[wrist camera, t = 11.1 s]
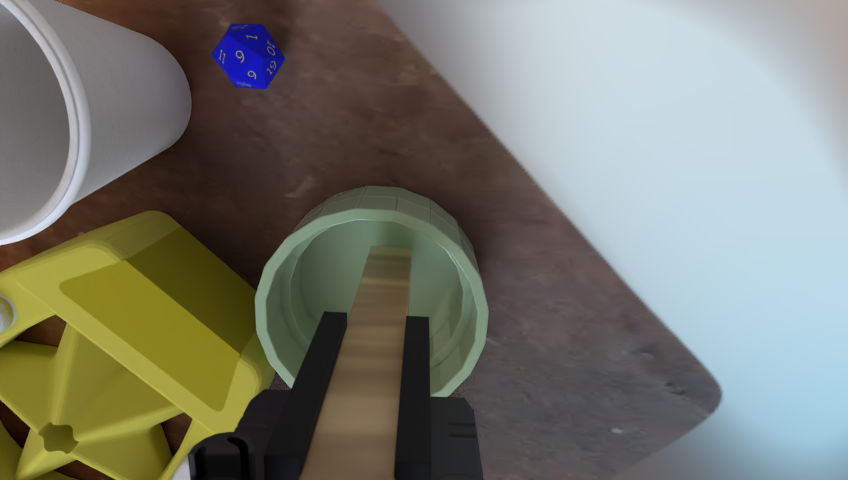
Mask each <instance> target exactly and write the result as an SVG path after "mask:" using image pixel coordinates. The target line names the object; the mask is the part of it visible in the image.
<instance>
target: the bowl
mask: <svg viewBox="0 0 848 480" xmlns="http://www.w3.org/2000/svg"><path fill="white" fill-rule="evenodd" d="M371 246H382V247H400V248H412V267H411V286H410V300H409V315H408V316H421V317H429V339H430V396H435V397H448V396H449V395H450V394H451V393H452V392H453V391H454V390H455V389H456V388H457V387H458V386H459V385H460V384H461V383H462V382H463V381H464V380H465V379H466V378H467V377H468V376H469V375H470V374H471V372H472V371H473V368H474V366H475V364H476V362H477V360H478V358H479V356H480V354H481V352H482V350H483V348H484V346H485V343H486V335H487V326H488V317H489V308H488V304H487V300H486V296H485V292H484V288H483V284H482V280H481V276H480V272H479V268H478V265H477V261H476V257H475V254H474V250H473V246H472V244H471V242H470V241H469V239H468V238H467V236H466V235H465V233H464V231H463V230H462V228H461V227H460V225H459V224H458V222H457V221H456V220H455V219H454V218H453V217H452V216H451V215H450V214H448V213H447V212H446V211H445V210H443V209H442V208H441V207H440V206H438V205H437V204H436V203H435V202H433V201H432V200H430V199H429V198H426V197H424V196H421V195H419V194H416V193H413V192H411V191H408V190H406V189H403V188H399V187H386V186H369V185H368V186H363V187H359V188H355V189H351V190H348V191H344V192H340V193H337V194H335V195H333V196H331V197H330V198H328V199H327V200H325V201H324V202H322V203H321V204H319V205H317V206H316V207H314V208H313V209H311V210H310V211H309V212H308V213H307V214H306V215H305V216H304V218H303V219H302V220H301V221H300V222H299V223H298V225H297V226H296V227H295V228H294V229H293V230H292V232H291V233H290V234H289V235H288V236H287V238H286V239H285V240H284V241H283V243H282V244H281V245H280V246H279V248H278V249H277V250H276V252H275V253H274V254H273V255H272V257H271V258H270V259H269V261H268V262H267V263H266V265H265V267H264V269H263V273H262V276H261V279H260V282H259V285H258V289H257V292H256V295H255V316H256V331H257V335H258V337H259V339H260V342H261V344H262V347H263V349H264V352H265V354H266V357H267V359H268V361H269V363H270V364H271V366H272V367H273V368H274V369H275V370H276V372H277V373H278V374H279V375H280V376H281V378H282V379H283V380H284V381H285V382H286V384H287V385H288V386H289V387H290V388H291V389H292V386H293V384H294V381H295V379H296V377H297V374H298V372H299V370H300V367H301V365H302V362H303V360H304V358H305V355H306V353H307V351H308V348H309V346H310V343H311V341H312V339H313V336H314V334H315V332H316V329H317V327H318V325H319V322H320V320H321V317H322V315H323V313H324V311H328V312H346V313H347V322H348V318H349V315H350V312H351V309H352V306H353V302H354V299H355V296H356V293H357V290H358V286H359V283H360V280H361V277H362V273H363V270H364V267H365V264H366V261H367V257H368V254H369V251H370V248H371Z"/></svg>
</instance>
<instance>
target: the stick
mask: <svg viewBox="0 0 848 480" xmlns="http://www.w3.org/2000/svg"><path fill="white" fill-rule="evenodd" d="M411 267H412V248H400V247H382V246H371V248H370V251H369V254H368V257H367V261H366V264H365V267H364V270H363V273H362V277H361V280H360V283H359V286H358V290H357V293H356V296H355V299H354V302H353V306H352V309H351V312H350V315H349V318H348V322H347V326H346V329H345V333H344V336H343V339H342V342H341V345H340V349H339V352H338V355H337V358H336V362H335V365H334V368H333V371H332V375H331V378H330V381H329V384H328V388H327V391H326V394H325V397H324V400H323V404H322V407H321V410H320V413H319V417H318V420H317V423H316V426H315V430H314V433H313V436H312V439H311V443H310V446H309V449H308V452H307V456H306V459H305V462H304V465H303V468H302V472H301V474H300V476H299V479H298V480H396V479H395V478H394V468H395V453H396V440H397V427H398V414H399V402H400V389H401V376H402V363H403V351H404V338H405V325H406V316H408V315H409V300H410V286H411Z"/></svg>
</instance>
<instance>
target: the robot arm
mask: <svg viewBox="0 0 848 480" xmlns="http://www.w3.org/2000/svg"><path fill="white" fill-rule="evenodd" d="M346 326H347V313H346V312H328V311H324V313H323V315H322V317H321V320H320V322H319V325H318V327H317V329H316V332H315V334H314V336H313V339H312V341H311V343H310V346H309V348H308V351H307V353H306V355H305V358H304V360H303V362H302V365H301V367H300V370H299V372H298V374H297V377H296V379H295V381H294V384H293V386H292V389H291V390H272V389H264V390H262V391H261V392H260V393H259V394H257V395H256V396H255V397H254V398H253V399H251V400H250V402H249V404H248V406H247V408H246V409H245V411H244V413H243V416H242V417H241V419H240V421H239V423H238V424H237V427H236V428H235V430H234V432H224V433H217V434H214V435H212V436H209V437H207V438H204V439H203V440H201V441H200V442H199V443H197V444H196V445H194V447H193V448H192V449H191V450H190V452H189V453H188V462H189V471H190V480H298V479H299V476H300V474H301V472H302V468H303V465H304V462H305V459H306V456H307V452H308V449H309V446H310V443H311V439H312V436H313V433H314V430H315V426H316V423H317V420H318V417H319V413H320V410H321V407H322V404H323V400H324V397H325V394H326V391H327V388H328V384H329V381H330V378H331V375H332V371H333V368H334V365H335V362H336V358H337V355H338V352H339V349H340V345H341V342H342V339H343V336H344V333H345V329H346ZM394 478H395V479H396V480H483V473H482V466H481V459H480V452H479V445H478V438H477V431H476V427H475V417H474V410H473V409H472V408H471V406H470V405H469V404H468V402H467V401H466V400H465V398H454V397H435V396H430V339H429V317H421V316H406V325H405V338H404V351H403V363H402V376H401V389H400V402H399V414H398V427H397V440H396V453H395V468H394Z"/></svg>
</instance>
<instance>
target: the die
mask: <svg viewBox="0 0 848 480" xmlns="http://www.w3.org/2000/svg"><path fill="white" fill-rule="evenodd" d="M212 56H213V58H214V59H215V60H216V62H217V63H218V64H219V66H220V67H221V68H222V70H223V71H224V72H225V74H226V75H227V76H228V78H229V79H230V80H231V81H232V83H233V84H234V85H235V86H236V87H243V88H257V89H266V88H267V87H268V85H269V84H270V82H271V81H272V79H273V77H274V76H275V74H276V73H277V71H278V70H279V68H280V67H281V65H282V64H283V62H284V60H285V58H284V56H283V54H282V53H281V51H280V50H279V48H278V47H277V45H276V43H275V42H274V40H273V39H272V37H271V36H270V34H269V33H268V31H267V30H266V28H265V27H264V26H263V25H261V24H231V25H230V27H229V28H228V30H227V31H226V33H225V34H224V36H223V37H222V39H221V40H220V42H219V43H218V45H217V46H216V48H215V49H214V51H213V52H212Z"/></svg>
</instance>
